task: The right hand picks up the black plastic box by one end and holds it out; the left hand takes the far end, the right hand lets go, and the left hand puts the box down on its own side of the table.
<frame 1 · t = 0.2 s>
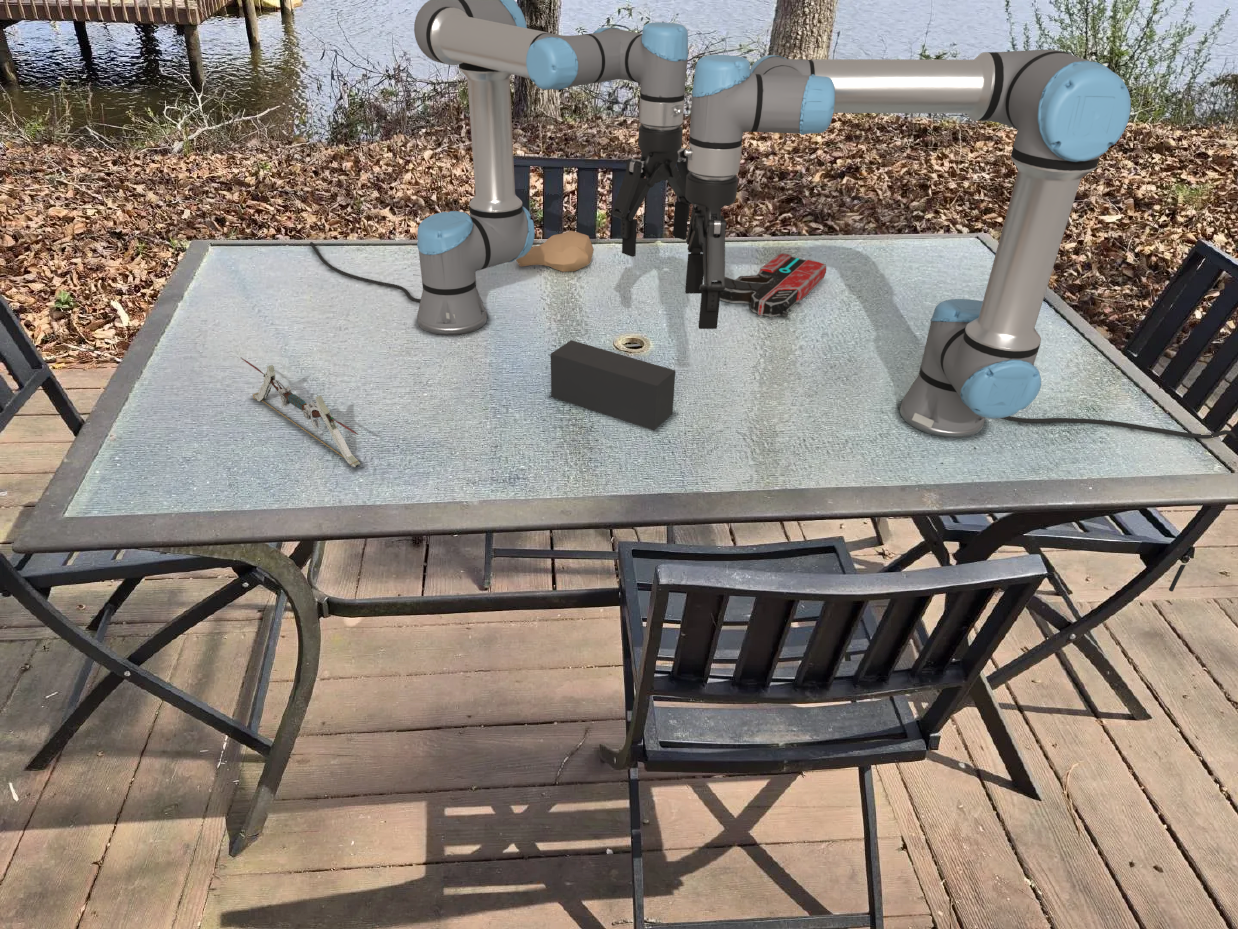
left hand: (654, 246, 161), 28 cm above the table, tool pointing down, fingers open, 13 cm apart
right hand: (700, 309, 139), 27 cm above the table, tool pointing down, fingers open, 13 cm apart
gun: (770, 291, 216), on the table
squash: (555, 267, 226), on the table
bow: (304, 430, 157), on the table
box: (611, 405, 168), on the table
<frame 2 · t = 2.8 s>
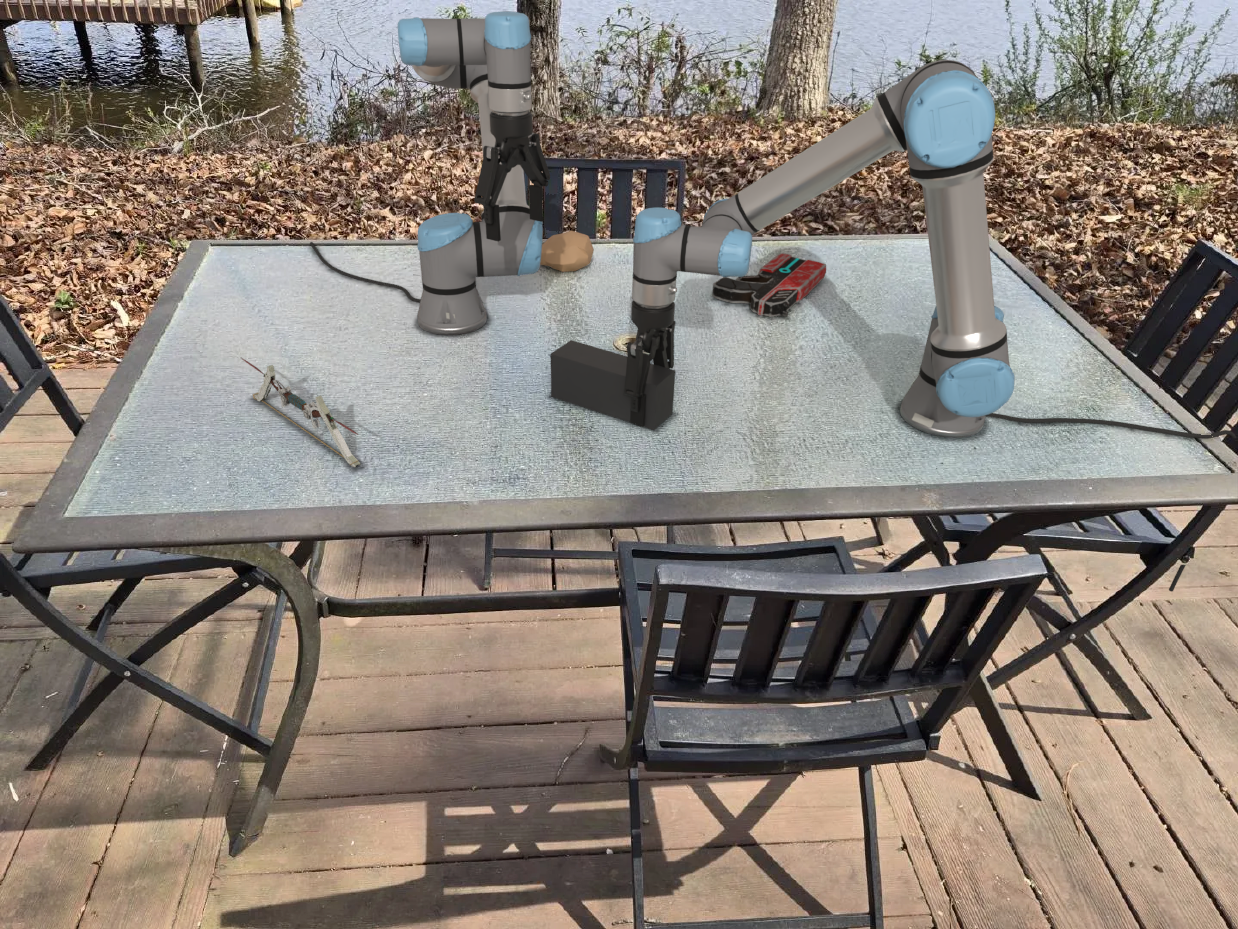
left hand: (515, 229, 166), 28 cm above the table, tool pointing down, fingers open, 13 cm apart
right hand: (647, 414, 164), 0 cm above the table, tool pointing down, fingers closed on box, 7 cm apart
box: (611, 405, 168), on the table, touching right hand
everything else where it was.
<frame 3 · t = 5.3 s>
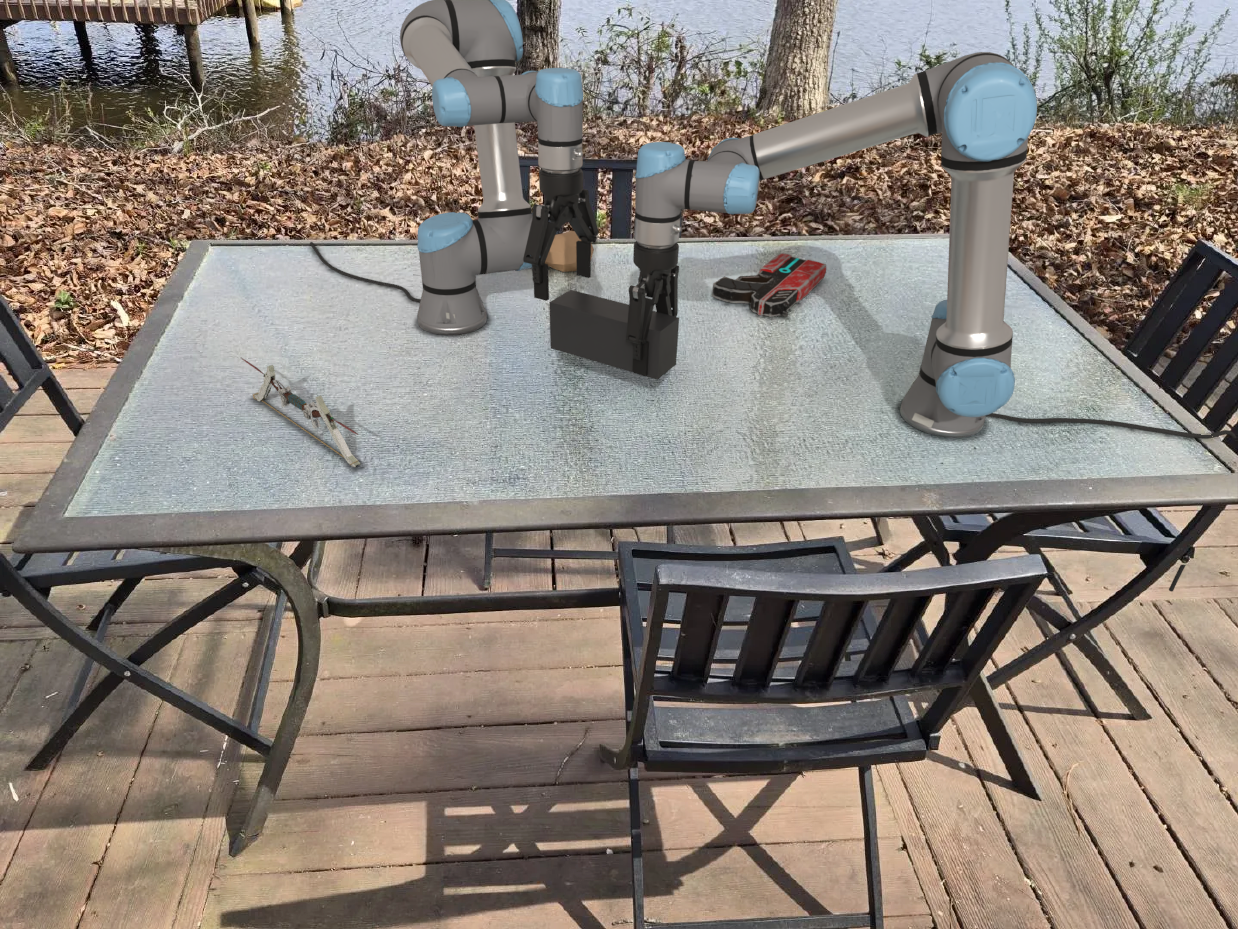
left hand: (563, 287, 161), 21 cm above the table, tool pointing down, fingers open, 13 cm apart
right hand: (650, 365, 158), 11 cm above the table, tool pointing down, fingers closed on box, 7 cm apart
box: (612, 356, 162), point 10 cm above the table, touching right hand
everything else where it was.
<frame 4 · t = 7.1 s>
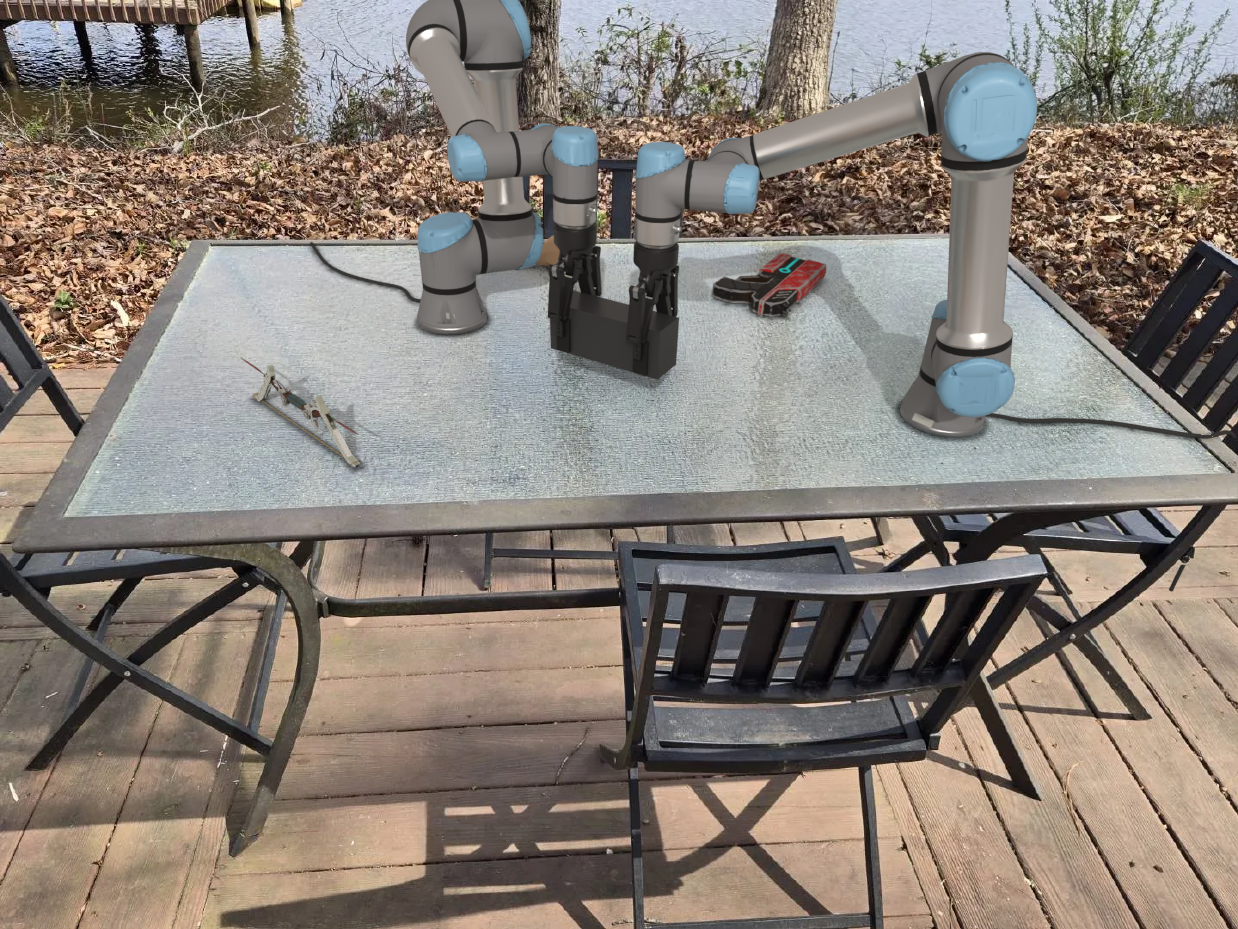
left hand: (575, 342, 165), 11 cm above the table, tool pointing down, fingers closed on box, 7 cm apart
right hand: (650, 365, 158), 11 cm above the table, tool pointing down, fingers closed on box, 7 cm apart
box: (612, 356, 162), point 10 cm above the table, touching left hand, right hand
everything else where it was.
when the right hand's fingers open (11 cm above the table, at t = 7.9 s): box stays where it is, held by the left hand.
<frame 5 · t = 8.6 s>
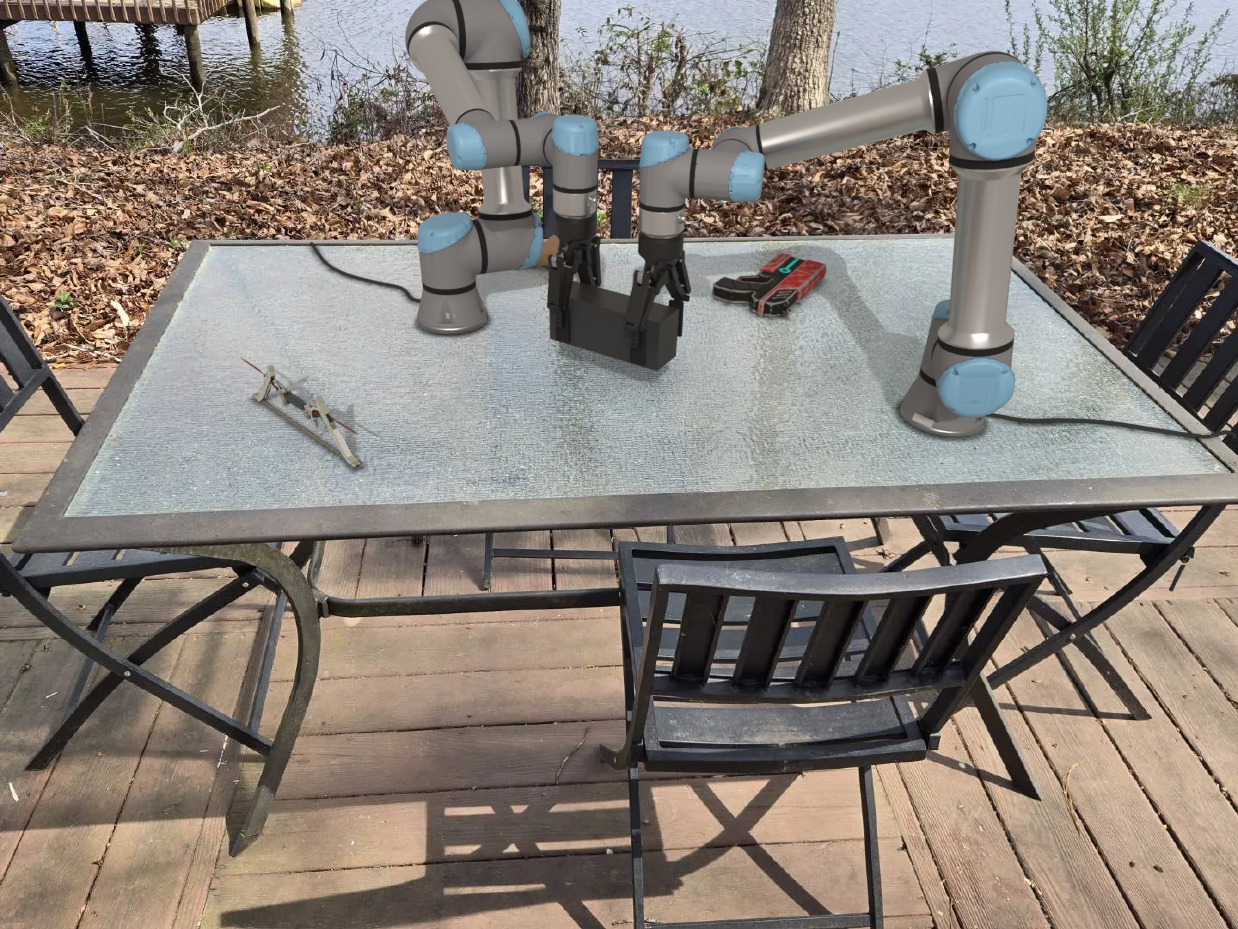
left hand: (574, 333, 164), 13 cm above the table, tool pointing down, fingers closed on box, 7 cm apart
right hand: (656, 348, 156), 14 cm above the table, tool pointing down, fingers open, 13 cm apart
box: (612, 347, 161), point 12 cm above the table, touching left hand
everything else where it was.
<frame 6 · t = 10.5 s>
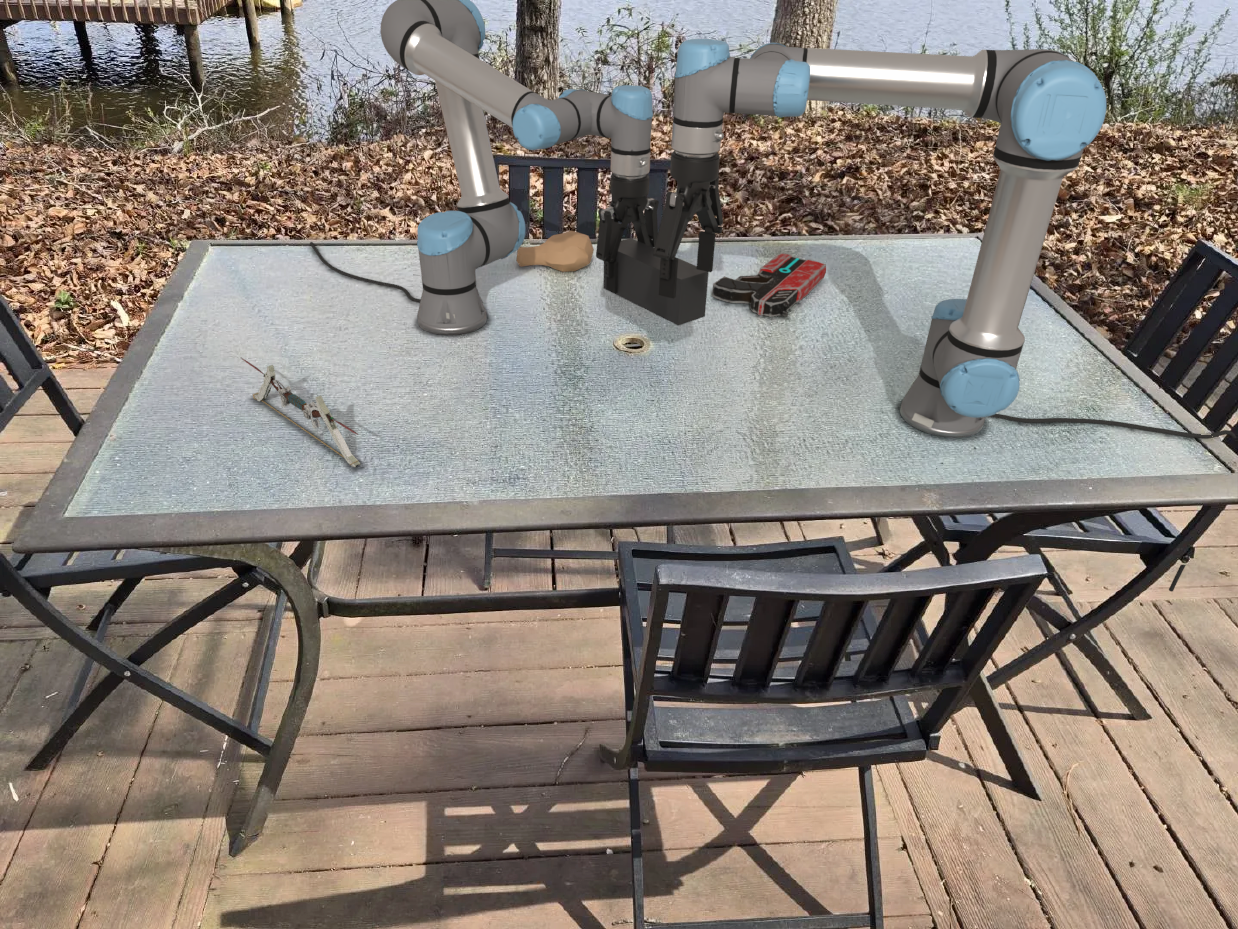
left hand: (626, 286, 181), 14 cm above the table, tool pointing down, fingers closed on box, 7 cm apart
right hand: (686, 282, 146), 28 cm above the table, tool pointing down, fingers open, 13 cm apart
box: (652, 302, 176), point 13 cm above the table, touching left hand
everything else where it was.
when the left hand's fingers open (2 cm above the table, at t = 12.1 s): box drops 1 cm, on the table.
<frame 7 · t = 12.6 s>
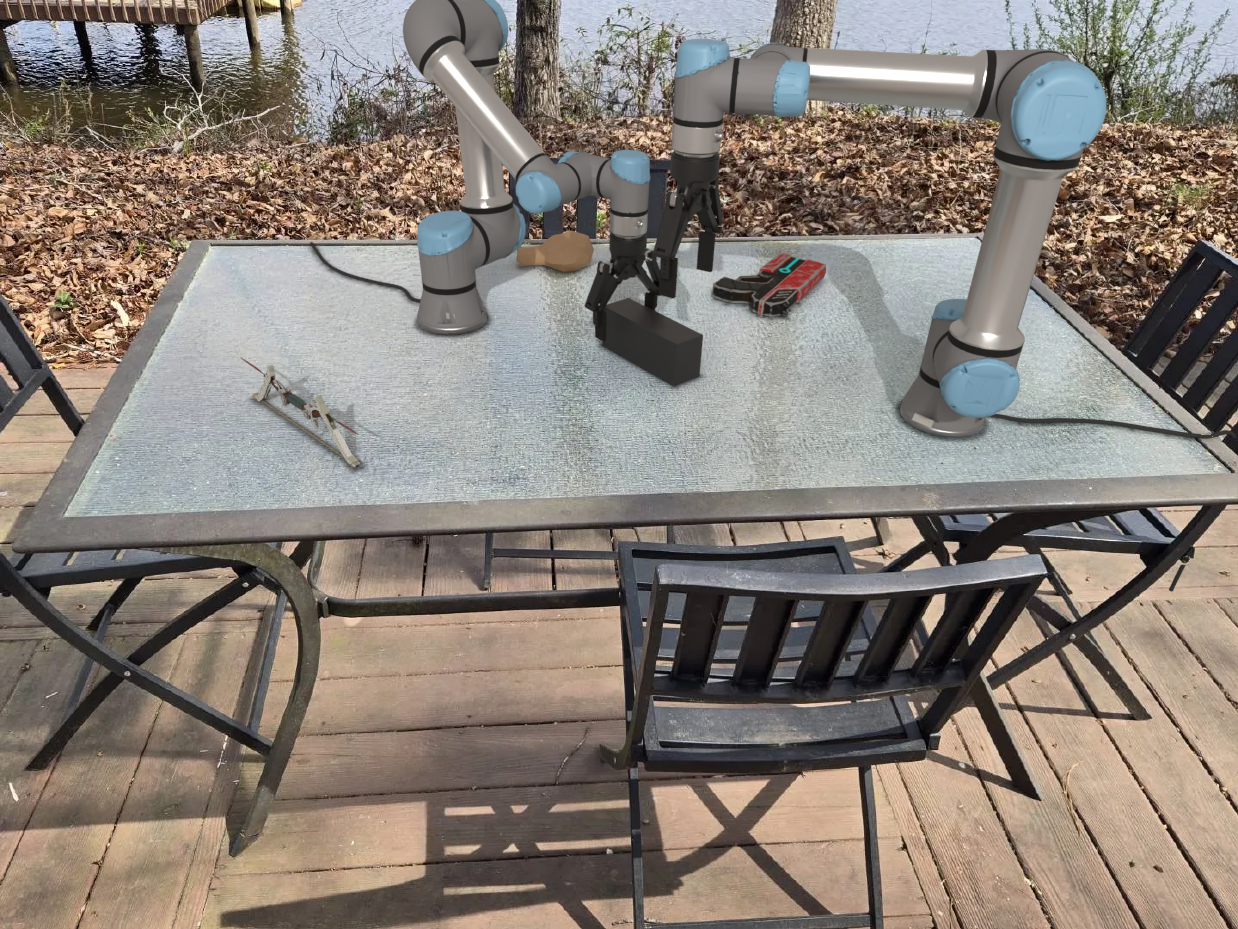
left hand: (625, 330, 186), 4 cm above the table, tool pointing down, fingers open, 13 cm apart
right hand: (686, 282, 146), 28 cm above the table, tool pointing down, fingers open, 13 cm apart
box: (649, 360, 183), on the table
everything else where it was.
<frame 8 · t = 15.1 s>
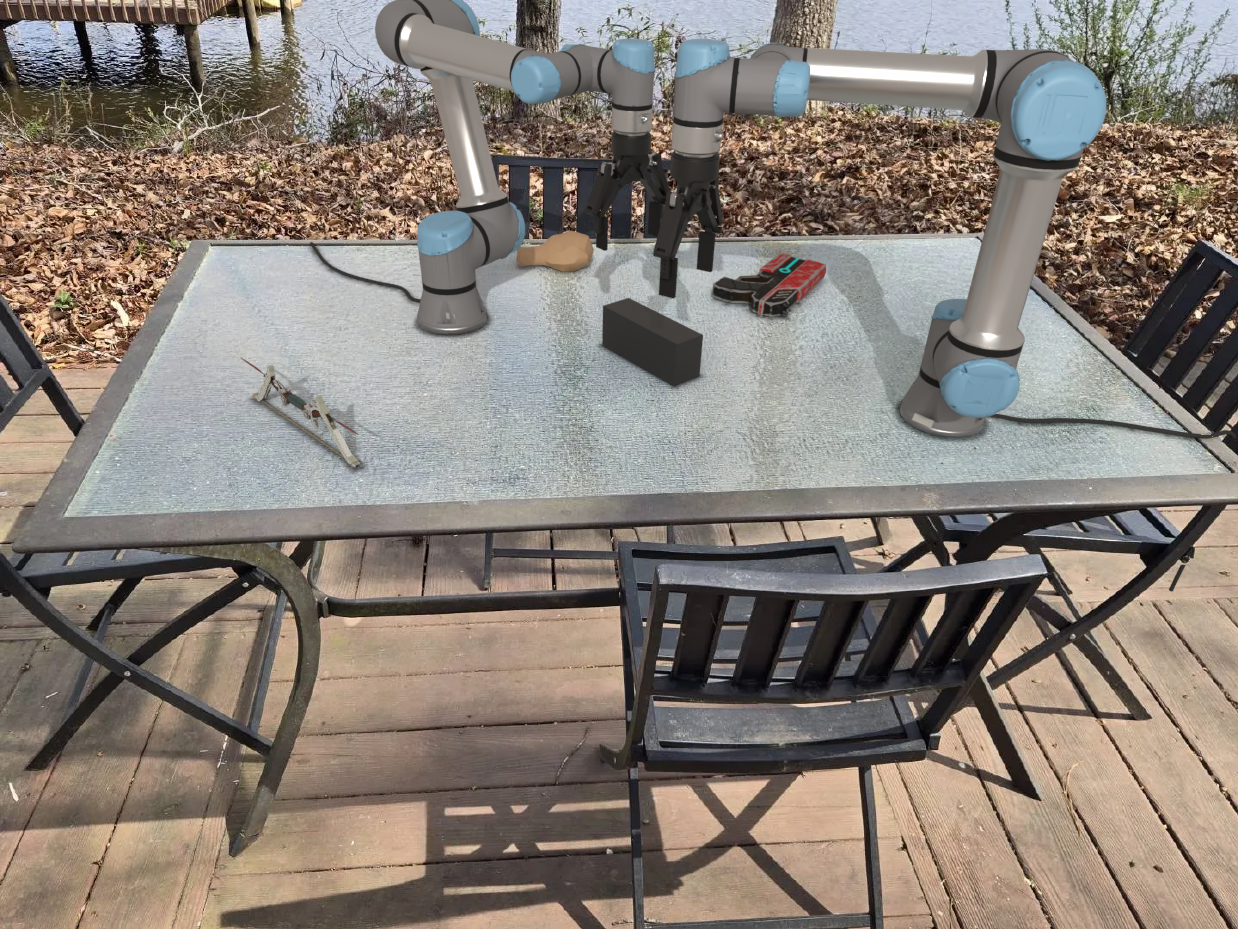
left hand: (628, 241, 176), 23 cm above the table, tool pointing down, fingers open, 13 cm apart
right hand: (686, 282, 146), 28 cm above the table, tool pointing down, fingers open, 13 cm apart
nothing on the table moved.
at the end: box inside the target area (8.0 cm from its centre), on the table; the left hand is holding nothing; the right hand is holding nothing; box at rest at the end (0.0 cm/s) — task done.
